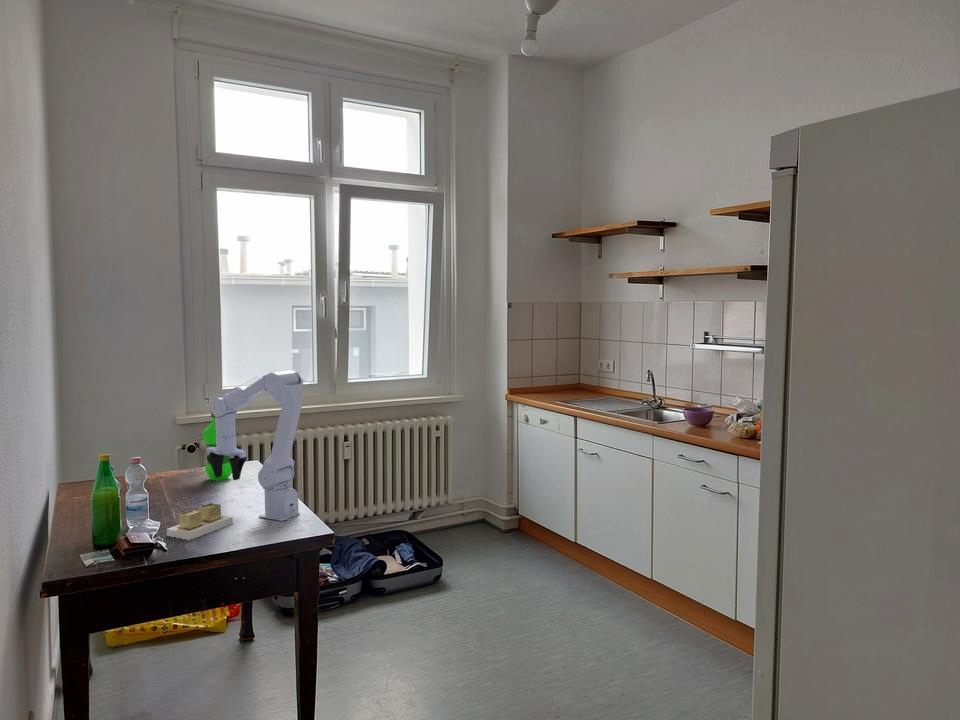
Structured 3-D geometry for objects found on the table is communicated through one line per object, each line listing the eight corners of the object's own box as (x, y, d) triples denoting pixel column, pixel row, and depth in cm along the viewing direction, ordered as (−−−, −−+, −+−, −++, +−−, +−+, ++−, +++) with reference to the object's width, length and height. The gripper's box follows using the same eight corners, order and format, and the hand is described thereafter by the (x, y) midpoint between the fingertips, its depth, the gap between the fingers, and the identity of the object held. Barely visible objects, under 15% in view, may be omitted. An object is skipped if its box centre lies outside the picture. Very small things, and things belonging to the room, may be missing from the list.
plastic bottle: (198, 481, 245) (195, 412, 243) (221, 474, 254) (219, 408, 253) (217, 484, 240) (215, 414, 239) (240, 477, 250) (238, 410, 248)
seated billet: (201, 532, 189) (200, 510, 188) (190, 536, 185) (189, 514, 185) (191, 530, 191) (190, 509, 190) (179, 534, 187) (178, 512, 187)
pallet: (232, 523, 196) (232, 516, 196) (189, 540, 182) (188, 533, 182) (211, 519, 200) (211, 513, 200) (167, 536, 186) (166, 528, 186)
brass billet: (221, 525, 195) (220, 504, 195) (210, 529, 192) (209, 507, 191) (211, 523, 197) (210, 502, 197) (200, 527, 193) (199, 506, 193)
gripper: (198, 435, 210) (200, 478, 211) (233, 439, 204) (235, 483, 205) (216, 432, 216) (217, 473, 217) (250, 435, 210) (252, 478, 211)
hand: (227, 478), depth 211 cm, fingers open, 7 cm apart
